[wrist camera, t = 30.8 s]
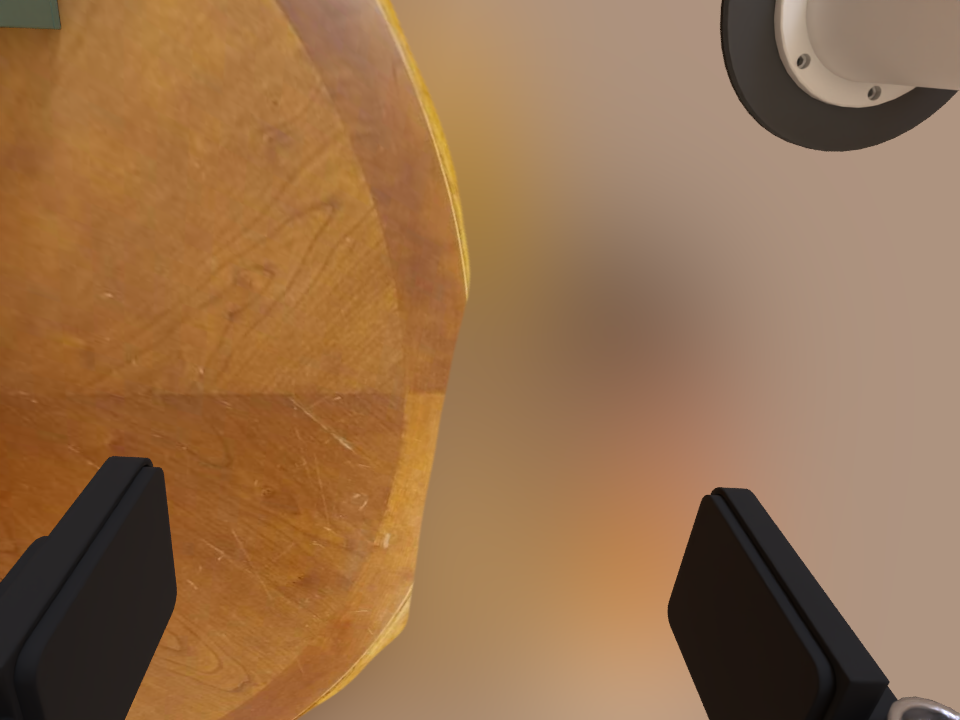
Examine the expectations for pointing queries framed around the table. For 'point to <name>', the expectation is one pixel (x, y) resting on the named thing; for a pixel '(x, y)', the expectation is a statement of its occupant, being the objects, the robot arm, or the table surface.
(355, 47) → the table surface
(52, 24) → the chest
